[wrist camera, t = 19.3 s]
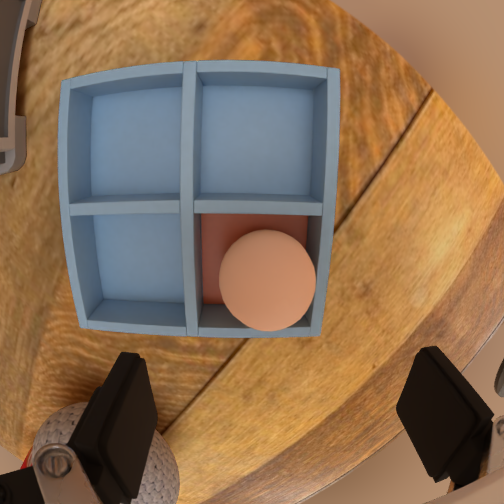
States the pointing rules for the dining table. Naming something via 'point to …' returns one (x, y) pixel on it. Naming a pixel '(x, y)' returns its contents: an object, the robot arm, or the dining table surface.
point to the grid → (192, 187)
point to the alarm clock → (13, 79)
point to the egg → (267, 280)
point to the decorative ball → (157, 466)
